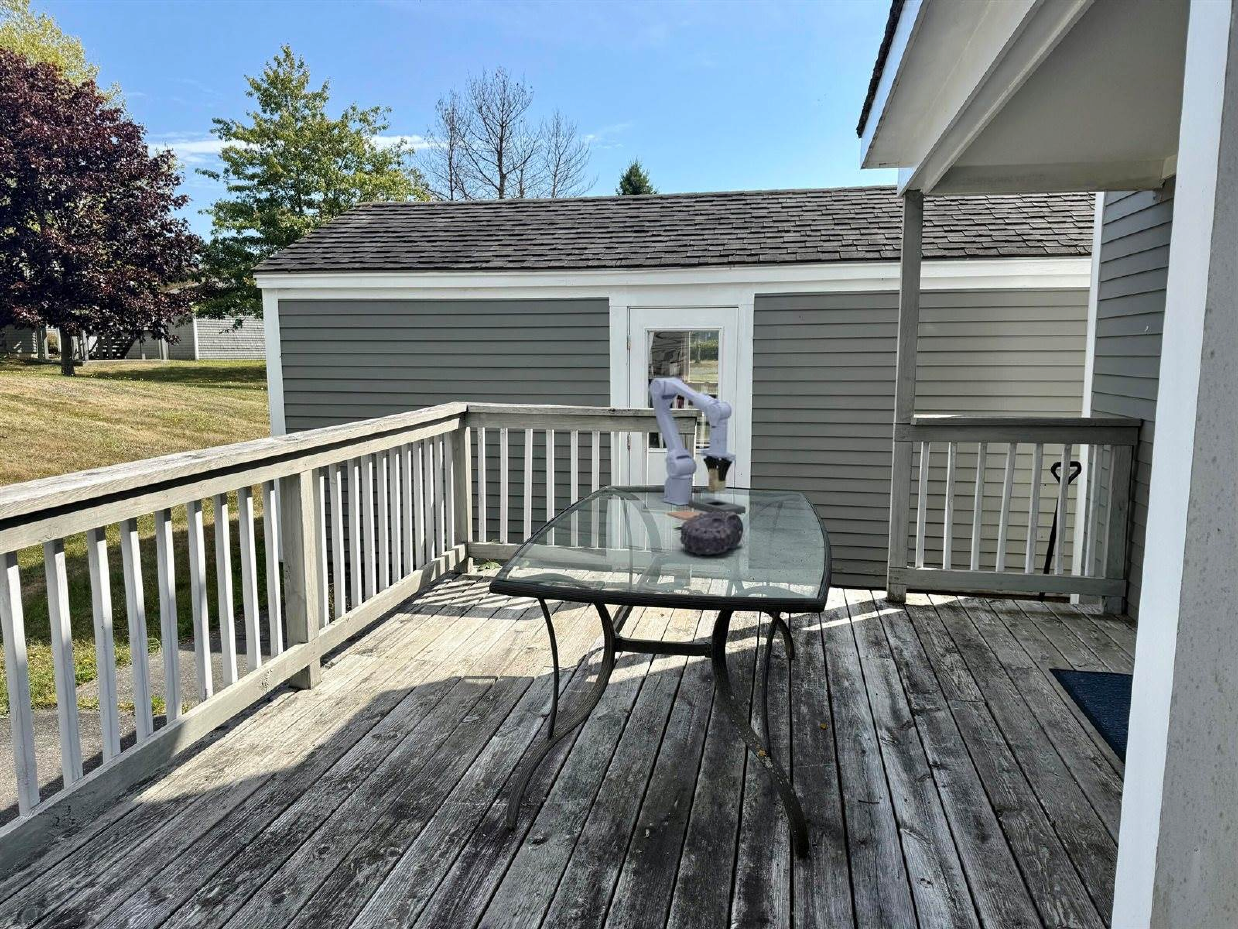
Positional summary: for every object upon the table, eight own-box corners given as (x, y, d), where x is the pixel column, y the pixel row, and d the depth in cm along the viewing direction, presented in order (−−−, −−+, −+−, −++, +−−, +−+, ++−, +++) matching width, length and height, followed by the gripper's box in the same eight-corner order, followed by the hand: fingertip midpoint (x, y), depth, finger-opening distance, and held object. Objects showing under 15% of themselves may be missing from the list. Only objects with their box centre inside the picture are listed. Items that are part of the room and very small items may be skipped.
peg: (708, 489, 283) (709, 468, 282) (717, 488, 286) (717, 467, 284) (716, 491, 280) (717, 470, 279) (725, 490, 282) (726, 469, 281)
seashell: (745, 550, 240) (707, 517, 246) (760, 519, 231) (720, 486, 237) (701, 581, 227) (662, 545, 234) (715, 550, 219) (674, 514, 225)
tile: (667, 515, 276) (667, 513, 276) (688, 511, 281) (688, 509, 281) (685, 520, 269) (685, 518, 269) (706, 516, 274) (706, 514, 274)
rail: (688, 507, 288) (688, 500, 288) (708, 504, 294) (708, 497, 293) (725, 516, 274) (725, 510, 274) (745, 513, 279) (745, 506, 279)
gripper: (694, 437, 284) (693, 477, 286) (724, 442, 272) (723, 484, 274) (710, 436, 288) (709, 475, 290) (740, 441, 276) (739, 482, 278)
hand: (717, 479), depth 282 cm, fingers closed on peg, 4 cm apart
